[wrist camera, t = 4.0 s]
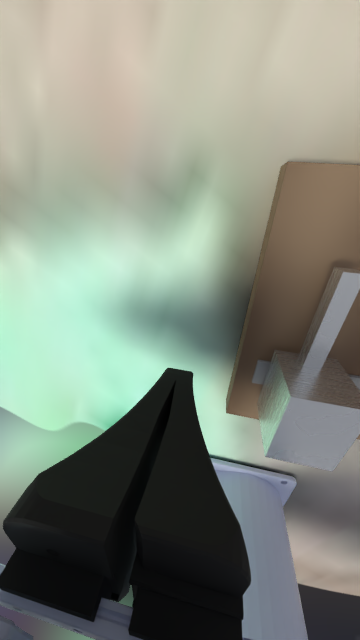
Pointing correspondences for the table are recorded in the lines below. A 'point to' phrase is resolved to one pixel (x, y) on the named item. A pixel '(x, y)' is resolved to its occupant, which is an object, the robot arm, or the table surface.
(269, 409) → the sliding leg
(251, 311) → the gauge board
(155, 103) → the table surface
